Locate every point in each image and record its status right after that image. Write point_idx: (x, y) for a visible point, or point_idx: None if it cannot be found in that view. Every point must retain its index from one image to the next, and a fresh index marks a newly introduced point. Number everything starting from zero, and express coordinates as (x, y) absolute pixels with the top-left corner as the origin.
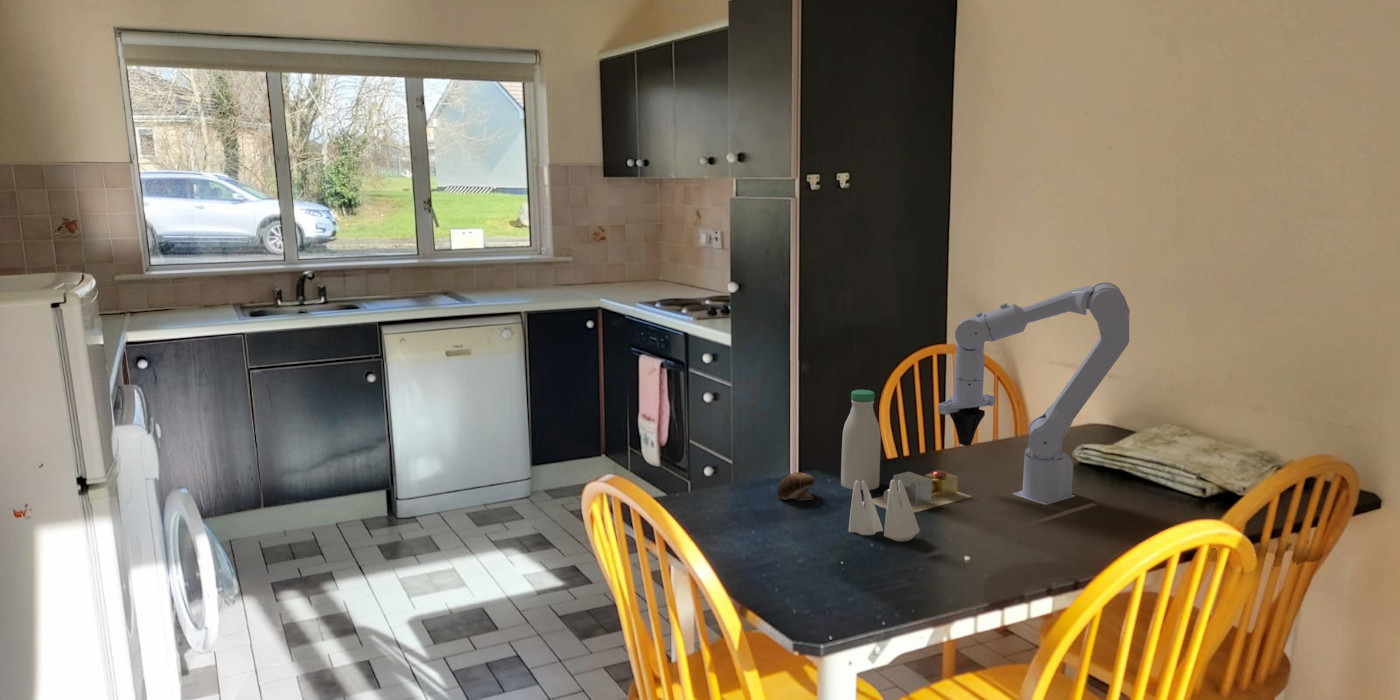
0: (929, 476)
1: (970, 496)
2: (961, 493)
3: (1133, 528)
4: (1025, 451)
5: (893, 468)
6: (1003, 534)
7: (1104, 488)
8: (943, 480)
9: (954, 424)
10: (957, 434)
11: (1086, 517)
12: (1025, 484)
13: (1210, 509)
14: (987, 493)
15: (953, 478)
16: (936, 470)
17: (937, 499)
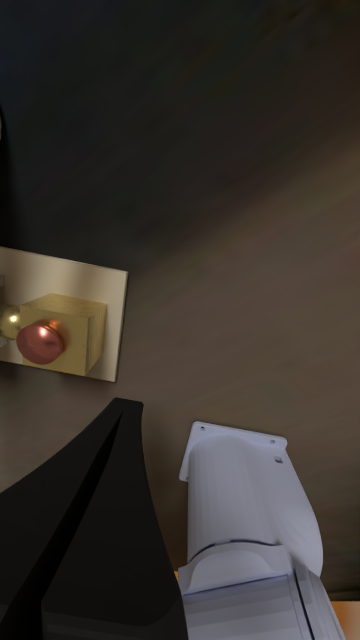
0: (21, 321)
1: (111, 379)
2: (113, 357)
3: (185, 561)
4: (210, 555)
5: (185, 54)
6: (18, 475)
7: (354, 501)
8: (28, 364)
9: (37, 468)
10: (90, 424)
11: (182, 520)
12: (195, 467)
13: (333, 597)
14: (176, 381)
15: (68, 371)
16: (43, 331)
17: None
